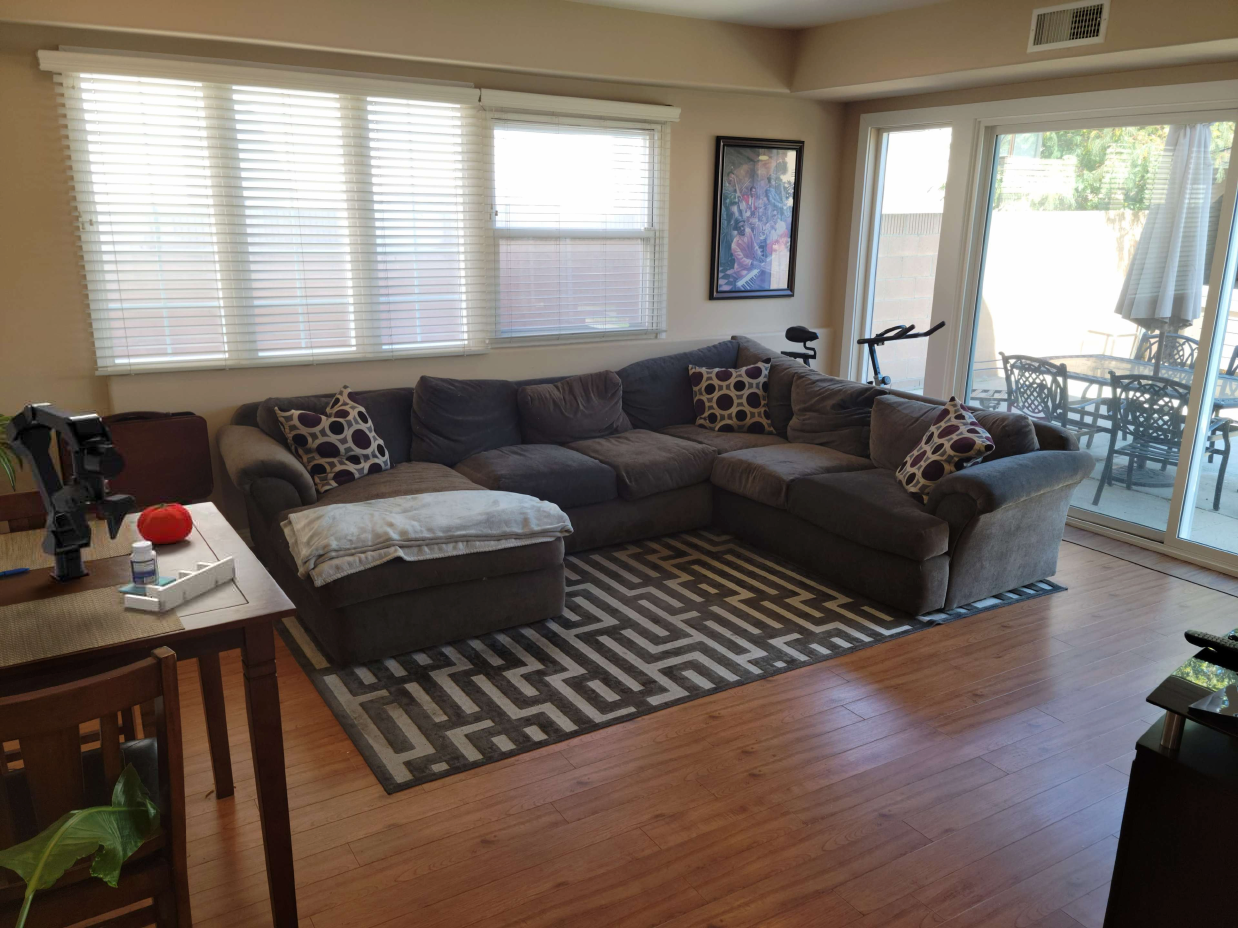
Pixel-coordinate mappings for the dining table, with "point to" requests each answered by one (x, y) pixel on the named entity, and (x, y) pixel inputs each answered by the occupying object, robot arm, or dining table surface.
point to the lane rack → (184, 586)
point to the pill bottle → (144, 564)
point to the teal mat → (142, 590)
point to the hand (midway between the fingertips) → (96, 537)
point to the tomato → (165, 523)
